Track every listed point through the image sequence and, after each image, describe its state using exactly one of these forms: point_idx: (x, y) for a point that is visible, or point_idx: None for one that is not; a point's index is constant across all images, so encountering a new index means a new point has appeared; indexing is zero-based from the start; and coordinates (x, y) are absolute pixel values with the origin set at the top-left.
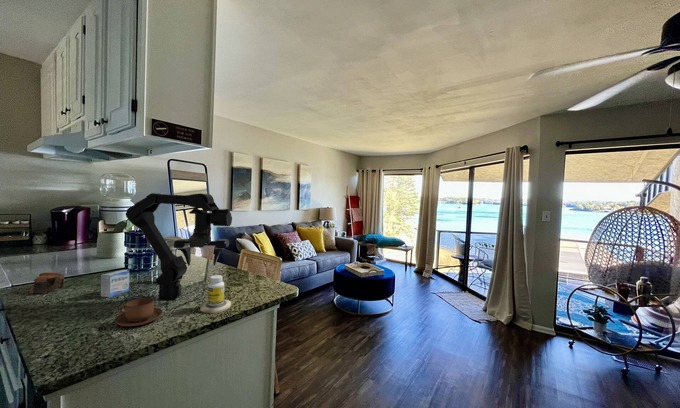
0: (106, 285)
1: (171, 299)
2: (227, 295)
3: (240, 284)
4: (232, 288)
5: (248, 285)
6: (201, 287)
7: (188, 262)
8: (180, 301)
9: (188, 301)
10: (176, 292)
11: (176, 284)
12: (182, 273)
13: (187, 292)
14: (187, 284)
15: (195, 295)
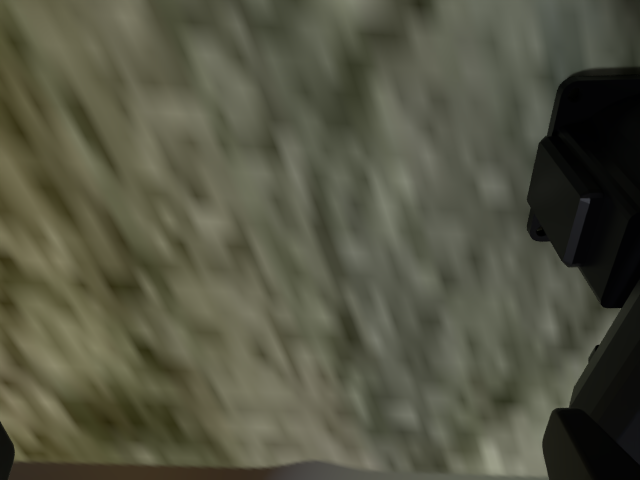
0: None
1: (600, 78)
2: (62, 183)
3: (91, 418)
4: (111, 344)
5: (9, 397)
6: (390, 375)
7: (605, 471)
8: (494, 35)
9: (406, 29)
10: (579, 149)
11: (625, 198)
12: (615, 333)
13: (480, 276)
14: (521, 432)
15: (384, 200)
